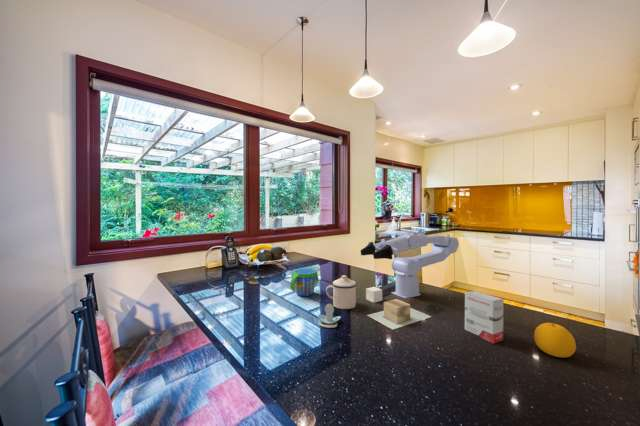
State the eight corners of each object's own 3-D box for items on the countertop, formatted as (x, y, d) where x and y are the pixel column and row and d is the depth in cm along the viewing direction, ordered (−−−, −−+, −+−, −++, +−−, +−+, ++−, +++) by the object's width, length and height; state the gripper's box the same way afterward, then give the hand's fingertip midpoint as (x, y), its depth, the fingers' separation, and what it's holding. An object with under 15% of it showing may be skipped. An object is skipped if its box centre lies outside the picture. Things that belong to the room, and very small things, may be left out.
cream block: (374, 298, 105) (374, 286, 105) (382, 302, 101) (382, 289, 101) (366, 300, 103) (366, 288, 103) (373, 304, 99) (373, 291, 99)
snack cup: (310, 287, 121) (310, 266, 121) (326, 292, 113) (326, 269, 113) (283, 295, 110) (283, 272, 110) (299, 301, 103) (298, 276, 102)
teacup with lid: (359, 303, 100) (358, 274, 100) (352, 312, 92) (352, 280, 91) (330, 299, 105) (330, 271, 104) (321, 307, 96) (321, 276, 96)
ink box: (504, 340, 72) (504, 298, 71) (493, 344, 69) (493, 301, 69) (474, 327, 79) (474, 289, 79) (463, 331, 77) (463, 292, 77)
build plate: (404, 306, 96) (404, 304, 96) (431, 318, 86) (431, 316, 86) (366, 316, 88) (366, 315, 88) (392, 331, 77) (392, 329, 77)
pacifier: (338, 330, 79) (341, 321, 85) (338, 310, 78) (341, 303, 84) (315, 328, 81) (320, 319, 86) (315, 308, 80) (319, 301, 86)
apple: (580, 366, 60) (581, 334, 59) (536, 356, 64) (537, 326, 64) (570, 350, 66) (570, 321, 66) (531, 342, 71) (531, 315, 70)
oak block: (396, 313, 89) (396, 298, 89) (410, 319, 84) (410, 304, 84) (383, 316, 86) (383, 302, 86) (397, 323, 81) (397, 308, 81)
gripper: (379, 235, 112) (354, 242, 105) (405, 238, 99) (378, 247, 92) (381, 250, 112) (357, 258, 106) (407, 256, 100) (381, 265, 93)
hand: (367, 254), depth 99 cm, fingers open, 7 cm apart
